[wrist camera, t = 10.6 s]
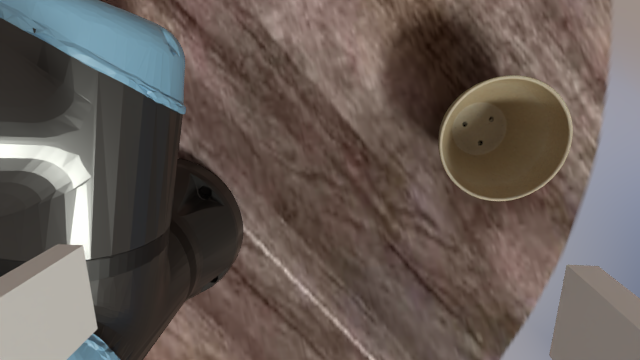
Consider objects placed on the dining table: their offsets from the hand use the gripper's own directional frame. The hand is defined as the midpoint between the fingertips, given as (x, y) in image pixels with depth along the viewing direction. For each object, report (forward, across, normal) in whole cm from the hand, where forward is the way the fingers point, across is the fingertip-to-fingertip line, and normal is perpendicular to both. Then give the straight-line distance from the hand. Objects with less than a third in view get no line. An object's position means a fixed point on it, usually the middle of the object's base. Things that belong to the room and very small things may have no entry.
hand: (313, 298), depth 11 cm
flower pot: (+29, +13, +1) cm, 32 cm away
